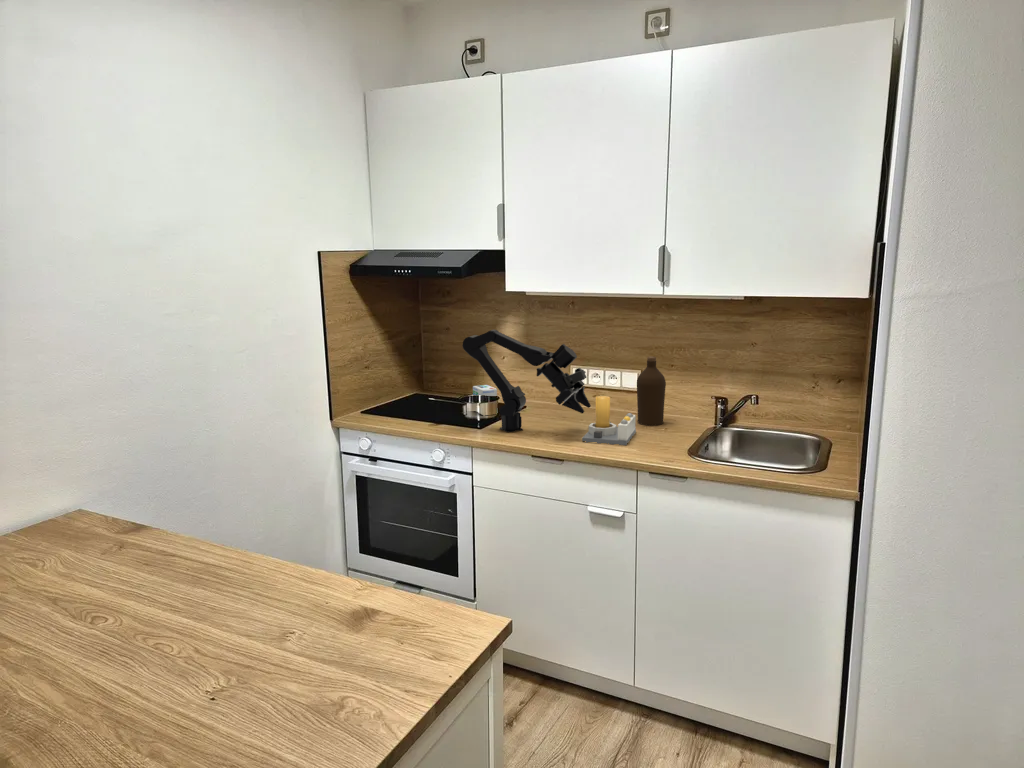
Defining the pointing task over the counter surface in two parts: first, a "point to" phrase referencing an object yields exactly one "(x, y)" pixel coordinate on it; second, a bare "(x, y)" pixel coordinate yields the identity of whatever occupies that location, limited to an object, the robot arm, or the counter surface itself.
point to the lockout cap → (602, 411)
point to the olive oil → (651, 394)
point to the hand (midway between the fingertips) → (586, 409)
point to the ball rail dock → (612, 432)
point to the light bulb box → (484, 390)
